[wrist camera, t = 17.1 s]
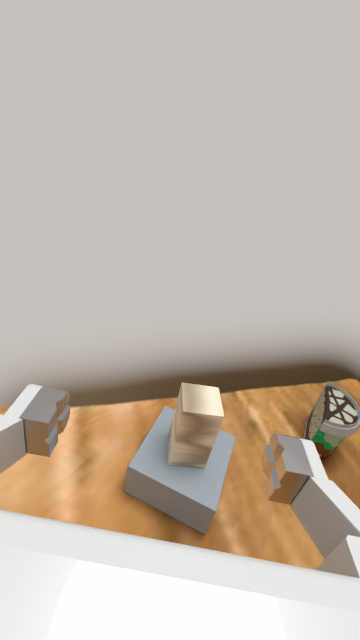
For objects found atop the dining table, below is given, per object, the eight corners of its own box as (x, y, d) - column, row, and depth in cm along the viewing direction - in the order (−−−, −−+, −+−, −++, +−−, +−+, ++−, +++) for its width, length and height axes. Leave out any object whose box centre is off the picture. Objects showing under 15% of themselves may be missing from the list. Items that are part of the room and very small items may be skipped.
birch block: (201, 437, 43) (218, 387, 39) (204, 468, 39) (224, 416, 34) (168, 433, 43) (181, 382, 38) (168, 464, 38) (182, 411, 34)
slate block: (225, 460, 48) (235, 437, 45) (204, 536, 37) (215, 511, 35) (159, 430, 50) (165, 405, 47) (123, 492, 40) (128, 466, 37)
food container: (336, 480, 48) (367, 441, 43) (299, 460, 50) (325, 421, 45) (337, 430, 58) (362, 394, 53) (307, 416, 60) (328, 379, 55)
